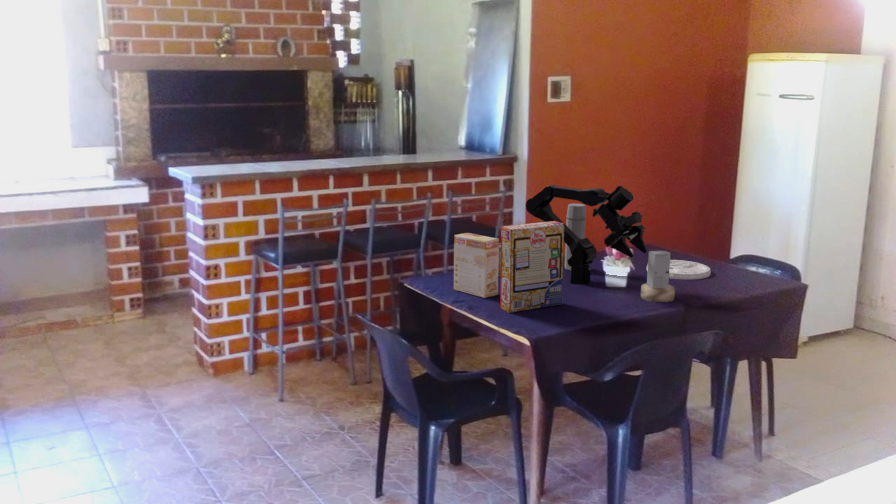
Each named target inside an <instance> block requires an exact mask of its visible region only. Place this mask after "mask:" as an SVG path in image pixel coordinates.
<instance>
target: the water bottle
mask: <svg viewBox="0 0 896 504" xmlns="http://www.w3.org/2000/svg"><path fill="white" fill-rule="evenodd" d="M565 218H566V219H565V221H566V223H565V225H566V226H567V227H568V228H569V229H570V230H571V231H572V232H573V233H574V234H575V235H576V236H577V237H578V238H580V239H584V238H586V237H585V235H586V219H587V205H586V204H583V203H569V204H568V205H567V212H566V216H565ZM564 244H565V246H564V269H565V270H567V271H570V272H571V266H569V265H568V261H567V260H568V259H569V258H570V257H572V254H571V252H570V249H569V246H568V245H567V244H566V243H565V242H564Z"/></svg>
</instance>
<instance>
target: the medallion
mask: <svg viewBox="0 0 896 504" xmlns="http://www.w3.org/2000/svg"><path fill="white" fill-rule="evenodd" d="M646 271H647V272H648V264H647V265H646ZM711 273H712V271H711V267H709V266H708V265H705V264H704V263H700V262H695V261H692V260H691V261H690V260H689V261H688V260H685V259H684V260H683V259H682V260H681V259H680V260H679V259H670V268H669V279H671V280H685V281H686V280H701V279H705V278H709V277H710V276H711Z"/></svg>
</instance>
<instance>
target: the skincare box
mask: <svg viewBox="0 0 896 504" xmlns="http://www.w3.org/2000/svg"><path fill="white" fill-rule="evenodd" d="M670 260H671V252H669V251H667V250H649V251H648V261H647V265H648V271H647V273H646V274H647V275H646V283H647V286H648V287H650V288H652V289H657V288H668V285H669V284H670V283H669V282H670V280H669V279H670V278H669V268H670Z"/></svg>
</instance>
